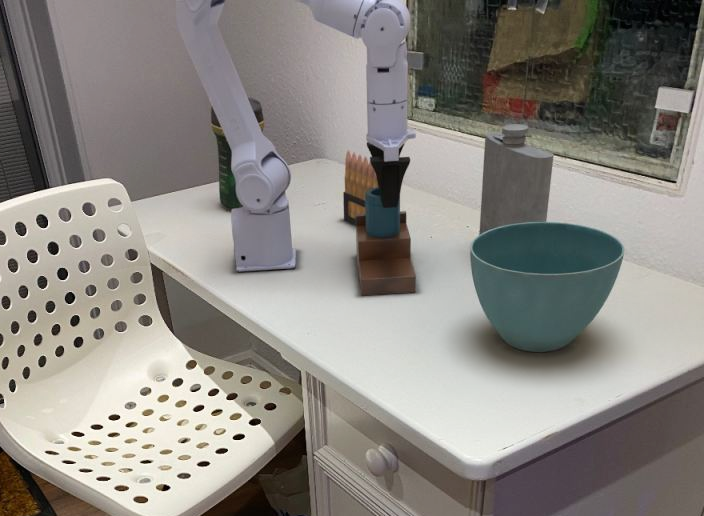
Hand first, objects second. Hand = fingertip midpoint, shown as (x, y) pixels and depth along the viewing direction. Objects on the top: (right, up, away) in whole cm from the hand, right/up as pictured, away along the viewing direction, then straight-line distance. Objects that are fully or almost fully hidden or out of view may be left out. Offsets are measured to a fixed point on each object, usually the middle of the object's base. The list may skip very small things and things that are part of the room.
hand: (388, 198), depth 123 cm
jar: (0, -4, +3) cm, 5 cm away
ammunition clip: (-2, +3, +22) cm, 22 cm away
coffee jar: (-25, +12, +36) cm, 45 cm away
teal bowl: (+18, -25, -16) cm, 35 cm away
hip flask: (+19, -9, +4) cm, 21 cm away
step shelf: (0, -10, +4) cm, 11 cm away
